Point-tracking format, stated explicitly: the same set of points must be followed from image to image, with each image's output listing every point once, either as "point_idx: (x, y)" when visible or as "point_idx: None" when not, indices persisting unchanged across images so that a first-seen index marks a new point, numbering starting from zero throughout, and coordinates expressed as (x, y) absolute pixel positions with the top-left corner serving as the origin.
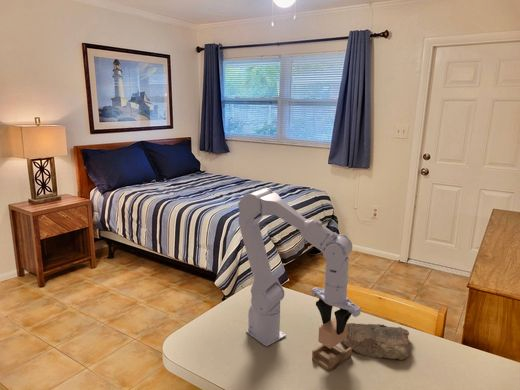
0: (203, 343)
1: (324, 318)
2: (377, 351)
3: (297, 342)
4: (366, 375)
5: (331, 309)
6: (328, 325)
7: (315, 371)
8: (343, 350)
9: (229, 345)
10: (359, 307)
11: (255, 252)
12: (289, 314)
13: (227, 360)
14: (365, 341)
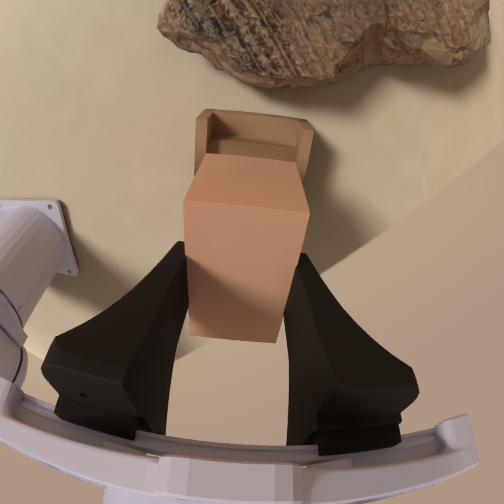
0: (33, 328)
1: (179, 331)
2: (404, 60)
3: (101, 194)
4: (392, 178)
5: (159, 313)
6: (218, 305)
7: None
8: (281, 150)
9: (49, 311)
10: (471, 467)
11: None
12: None
13: None
14: (350, 48)
